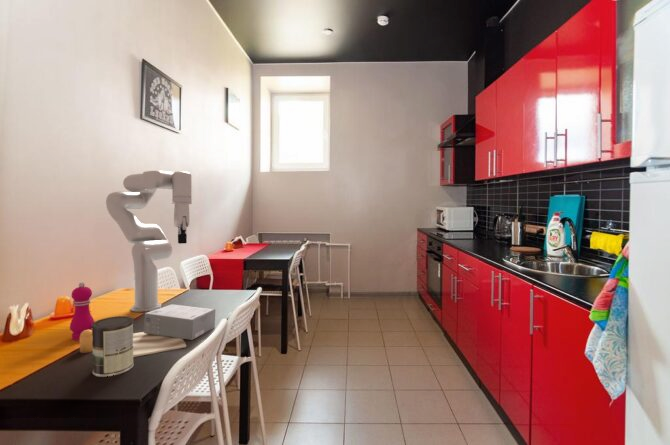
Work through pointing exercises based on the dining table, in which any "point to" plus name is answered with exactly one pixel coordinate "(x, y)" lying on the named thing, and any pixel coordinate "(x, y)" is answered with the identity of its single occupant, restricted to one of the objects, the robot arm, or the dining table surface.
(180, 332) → the hard drive box
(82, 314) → the pepper mill
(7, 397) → the dining table surface
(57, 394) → the dining table surface
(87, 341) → the salt shaker
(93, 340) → the coffee can
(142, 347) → the board
